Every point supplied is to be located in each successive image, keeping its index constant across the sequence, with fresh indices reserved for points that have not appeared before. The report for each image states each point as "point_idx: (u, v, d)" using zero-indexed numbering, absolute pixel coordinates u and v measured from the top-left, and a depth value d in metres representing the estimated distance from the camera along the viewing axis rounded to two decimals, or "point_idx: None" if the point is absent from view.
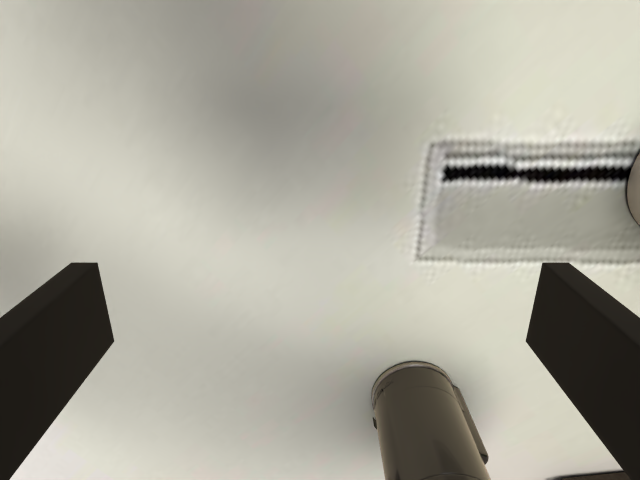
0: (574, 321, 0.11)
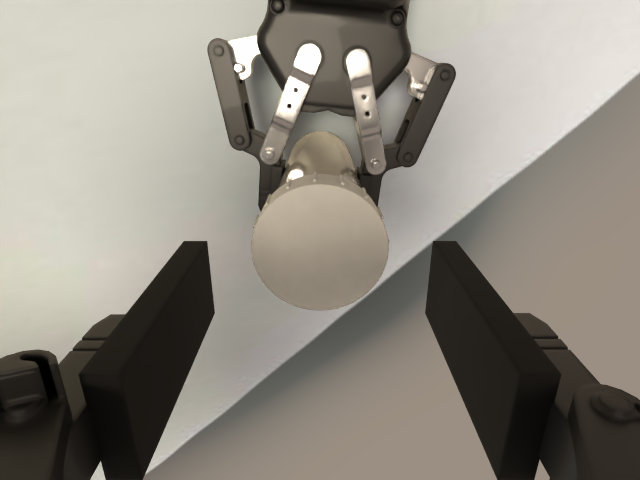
0: (446, 289, 0.12)
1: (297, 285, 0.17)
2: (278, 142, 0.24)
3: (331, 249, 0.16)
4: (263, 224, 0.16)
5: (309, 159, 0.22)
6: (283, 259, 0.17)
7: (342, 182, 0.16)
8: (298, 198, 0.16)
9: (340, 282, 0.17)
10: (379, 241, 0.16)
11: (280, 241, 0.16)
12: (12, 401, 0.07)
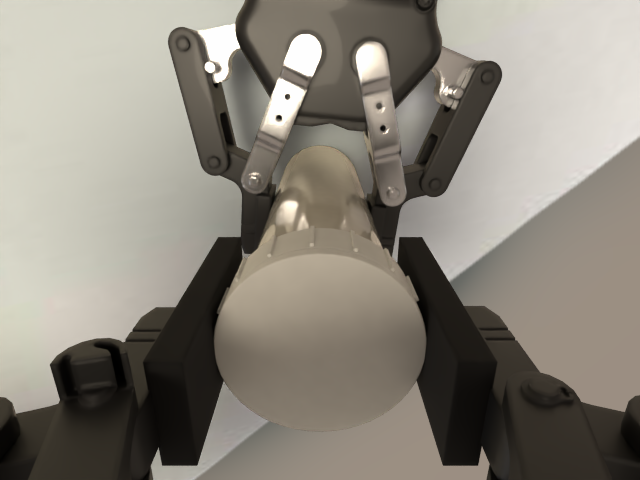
0: None
1: (285, 398, 0.11)
2: (265, 164, 0.19)
3: (337, 348, 0.11)
4: (231, 313, 0.10)
5: (305, 192, 0.16)
6: (263, 362, 0.11)
7: (355, 247, 0.10)
8: (285, 275, 0.10)
9: (351, 394, 0.11)
10: (412, 338, 0.10)
11: (258, 337, 0.10)
12: (86, 386, 0.07)
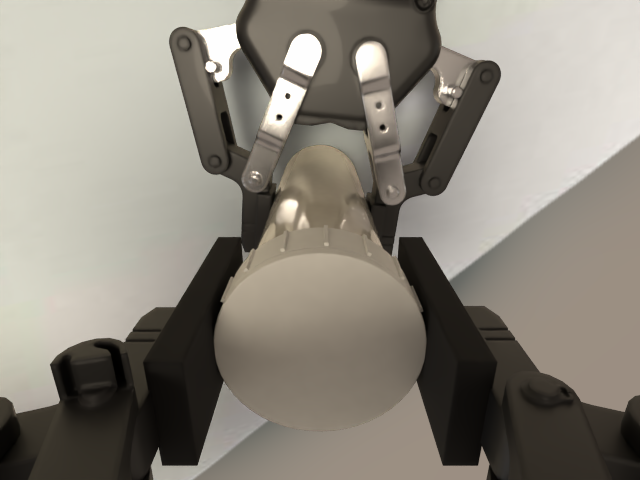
0: None
1: (352, 399, 0.11)
2: (265, 163, 0.19)
3: (326, 336, 0.10)
4: (242, 392, 0.11)
5: (305, 191, 0.16)
6: (304, 395, 0.11)
7: (244, 268, 0.10)
8: (229, 338, 0.10)
9: (383, 350, 0.11)
10: (354, 273, 0.10)
11: (277, 386, 0.11)
12: (86, 386, 0.07)
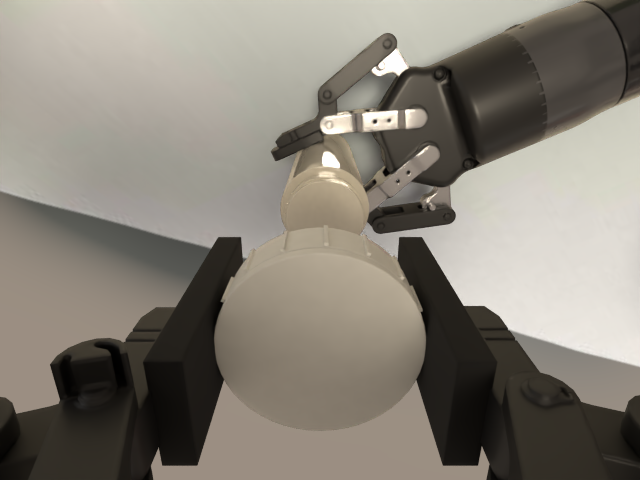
0: None
1: (352, 398, 0.11)
2: (342, 126, 0.28)
3: (326, 336, 0.10)
4: (243, 391, 0.11)
5: (352, 162, 0.26)
6: (304, 395, 0.11)
7: (244, 268, 0.10)
8: (229, 338, 0.10)
9: (383, 349, 0.11)
10: (354, 272, 0.10)
11: (277, 386, 0.11)
12: (86, 386, 0.07)
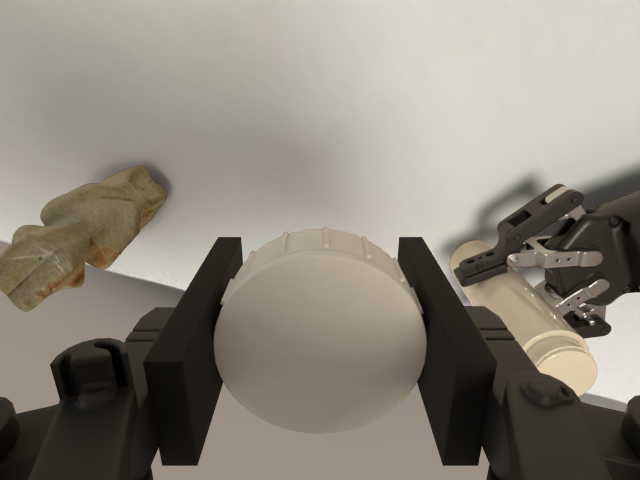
0: None
1: (352, 401, 0.11)
2: (525, 261, 0.33)
3: (326, 338, 0.10)
4: (242, 394, 0.11)
5: None
6: (304, 398, 0.11)
7: (244, 271, 0.10)
8: (229, 340, 0.10)
9: (383, 352, 0.11)
10: (354, 275, 0.10)
11: (277, 388, 0.11)
12: (86, 386, 0.07)
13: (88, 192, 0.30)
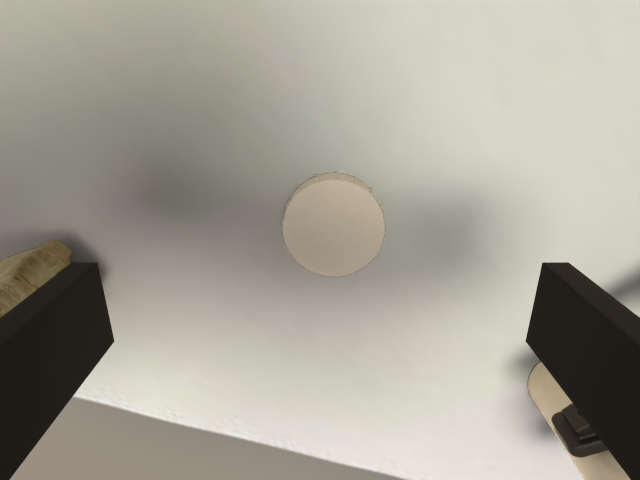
0: (573, 321, 0.11)
1: (349, 257, 0.23)
2: None
3: (336, 222, 0.22)
4: (295, 253, 0.23)
5: None
6: (325, 255, 0.23)
7: (298, 189, 0.22)
8: (290, 223, 0.22)
9: (364, 229, 0.22)
10: (349, 189, 0.21)
11: (312, 250, 0.22)
12: None
13: None
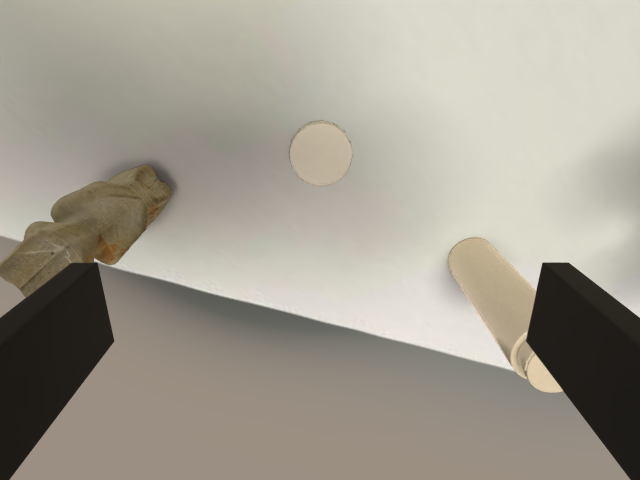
0: (573, 321, 0.11)
1: (330, 173, 0.37)
2: None
3: (322, 150, 0.36)
4: (297, 170, 0.37)
5: None
6: (316, 171, 0.37)
7: (299, 130, 0.36)
8: (294, 151, 0.36)
9: (339, 155, 0.36)
10: (330, 129, 0.35)
11: (308, 168, 0.37)
12: None
13: (96, 190, 0.31)
